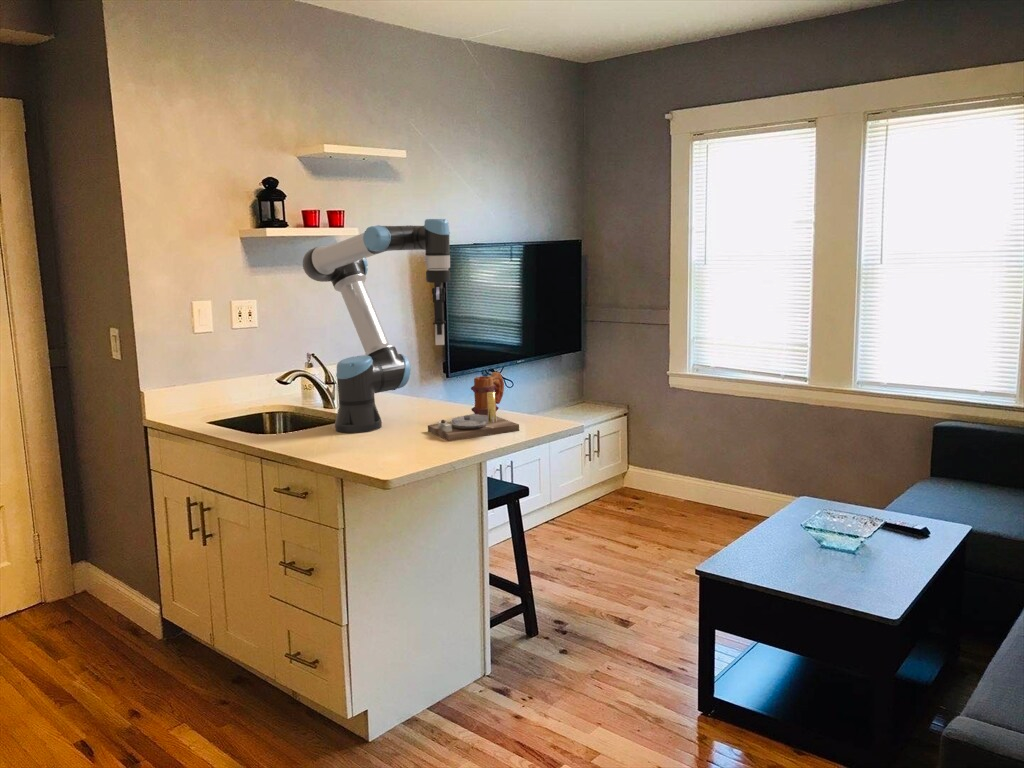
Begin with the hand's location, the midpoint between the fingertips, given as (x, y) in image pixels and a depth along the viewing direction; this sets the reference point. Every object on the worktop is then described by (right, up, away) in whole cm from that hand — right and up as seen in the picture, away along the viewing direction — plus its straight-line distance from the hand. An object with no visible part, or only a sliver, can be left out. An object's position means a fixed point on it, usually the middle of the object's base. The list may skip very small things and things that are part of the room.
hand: (439, 344), depth 261 cm
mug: (+15, -24, +22) cm, 36 cm away
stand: (+11, -27, +1) cm, 29 cm away
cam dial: (+11, -26, -3) cm, 28 cm away
